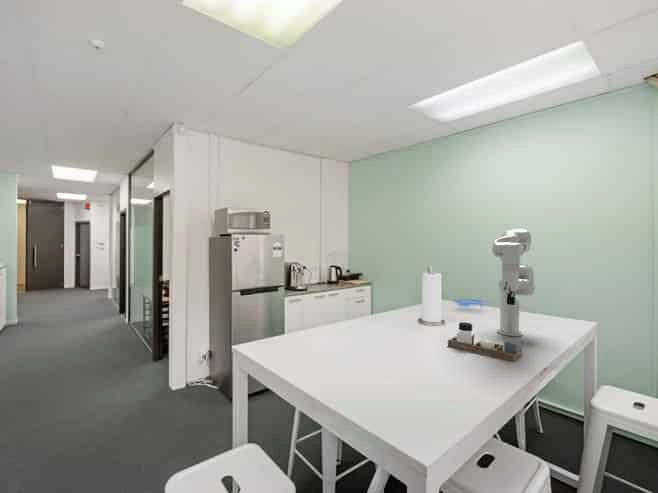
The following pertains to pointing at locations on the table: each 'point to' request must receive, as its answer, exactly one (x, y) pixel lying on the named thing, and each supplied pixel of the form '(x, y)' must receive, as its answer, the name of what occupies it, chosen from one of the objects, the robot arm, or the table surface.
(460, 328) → the medicine bottle
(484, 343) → the white rounded lump
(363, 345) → the table surface
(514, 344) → the grey rectangular block
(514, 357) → the wooden compartment tray
